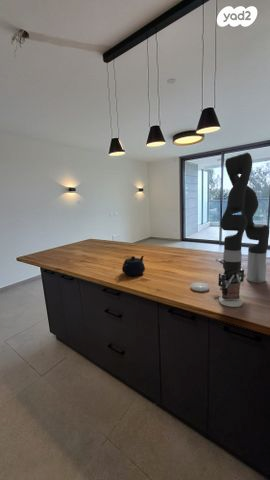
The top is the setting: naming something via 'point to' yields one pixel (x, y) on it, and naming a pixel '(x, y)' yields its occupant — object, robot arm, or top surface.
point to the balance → (222, 263)
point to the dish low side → (231, 302)
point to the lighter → (232, 290)
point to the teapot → (133, 266)
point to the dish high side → (199, 286)
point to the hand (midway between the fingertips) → (230, 292)
